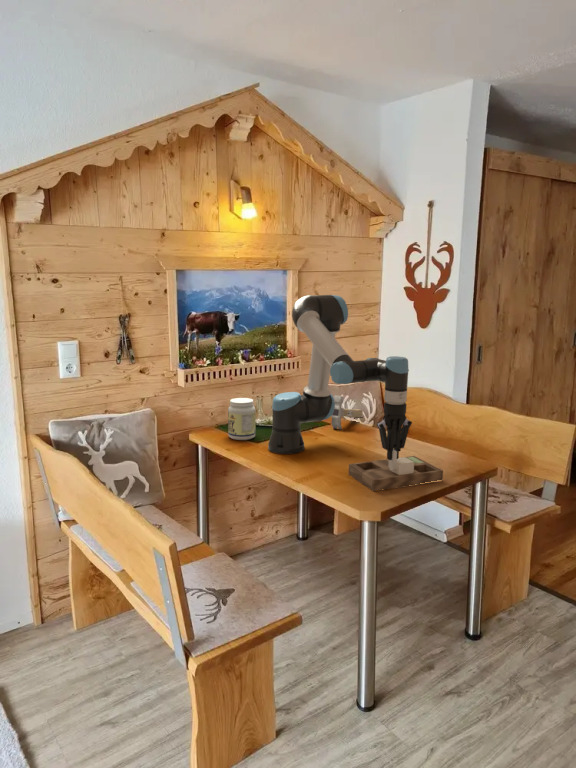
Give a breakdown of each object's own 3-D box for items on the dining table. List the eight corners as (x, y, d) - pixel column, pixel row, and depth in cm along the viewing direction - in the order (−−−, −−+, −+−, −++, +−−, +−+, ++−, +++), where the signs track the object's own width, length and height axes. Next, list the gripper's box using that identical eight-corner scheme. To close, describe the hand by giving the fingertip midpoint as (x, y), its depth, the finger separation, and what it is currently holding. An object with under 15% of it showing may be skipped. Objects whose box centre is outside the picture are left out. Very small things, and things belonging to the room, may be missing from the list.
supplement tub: (224, 435, 259) (223, 398, 256) (249, 432, 264) (248, 396, 261) (234, 442, 248) (234, 404, 245) (259, 438, 253) (259, 401, 250)
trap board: (373, 491, 192) (373, 480, 191) (348, 474, 208) (348, 464, 208) (442, 481, 202) (443, 470, 201) (413, 465, 218) (414, 455, 218)
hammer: (355, 398, 294) (332, 395, 267) (364, 399, 292) (342, 396, 265) (352, 428, 294) (328, 428, 267) (360, 429, 291) (338, 429, 265)
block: (398, 475, 196) (399, 464, 196) (389, 469, 202) (390, 458, 201) (413, 473, 199) (414, 462, 198) (404, 467, 204) (404, 457, 203)
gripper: (384, 405, 188) (381, 473, 193) (417, 403, 193) (414, 469, 198) (373, 401, 195) (370, 466, 200) (405, 398, 200) (402, 462, 204)
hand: (392, 468), depth 199 cm, fingers closed
